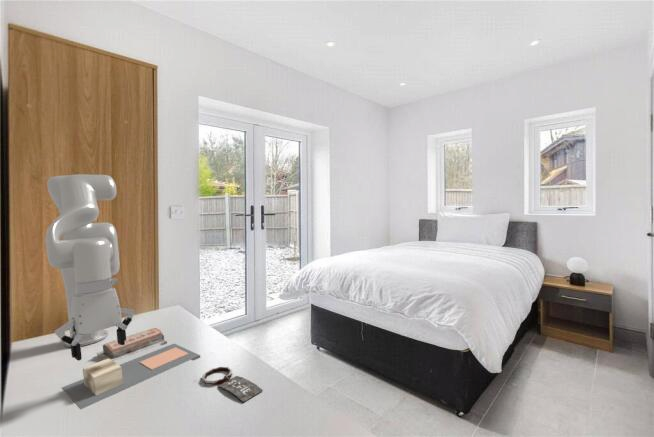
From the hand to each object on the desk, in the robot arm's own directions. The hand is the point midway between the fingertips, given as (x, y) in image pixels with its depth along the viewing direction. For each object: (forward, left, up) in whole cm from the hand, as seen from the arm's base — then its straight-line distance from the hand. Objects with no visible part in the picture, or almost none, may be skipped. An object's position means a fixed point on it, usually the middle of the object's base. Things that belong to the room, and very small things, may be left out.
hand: (100, 351), depth 83 cm
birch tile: (-1, 0, -9) cm, 9 cm away
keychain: (+28, +19, -10) cm, 36 cm away
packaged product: (-18, +14, -10) cm, 25 cm away
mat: (-1, +8, -10) cm, 13 cm away
